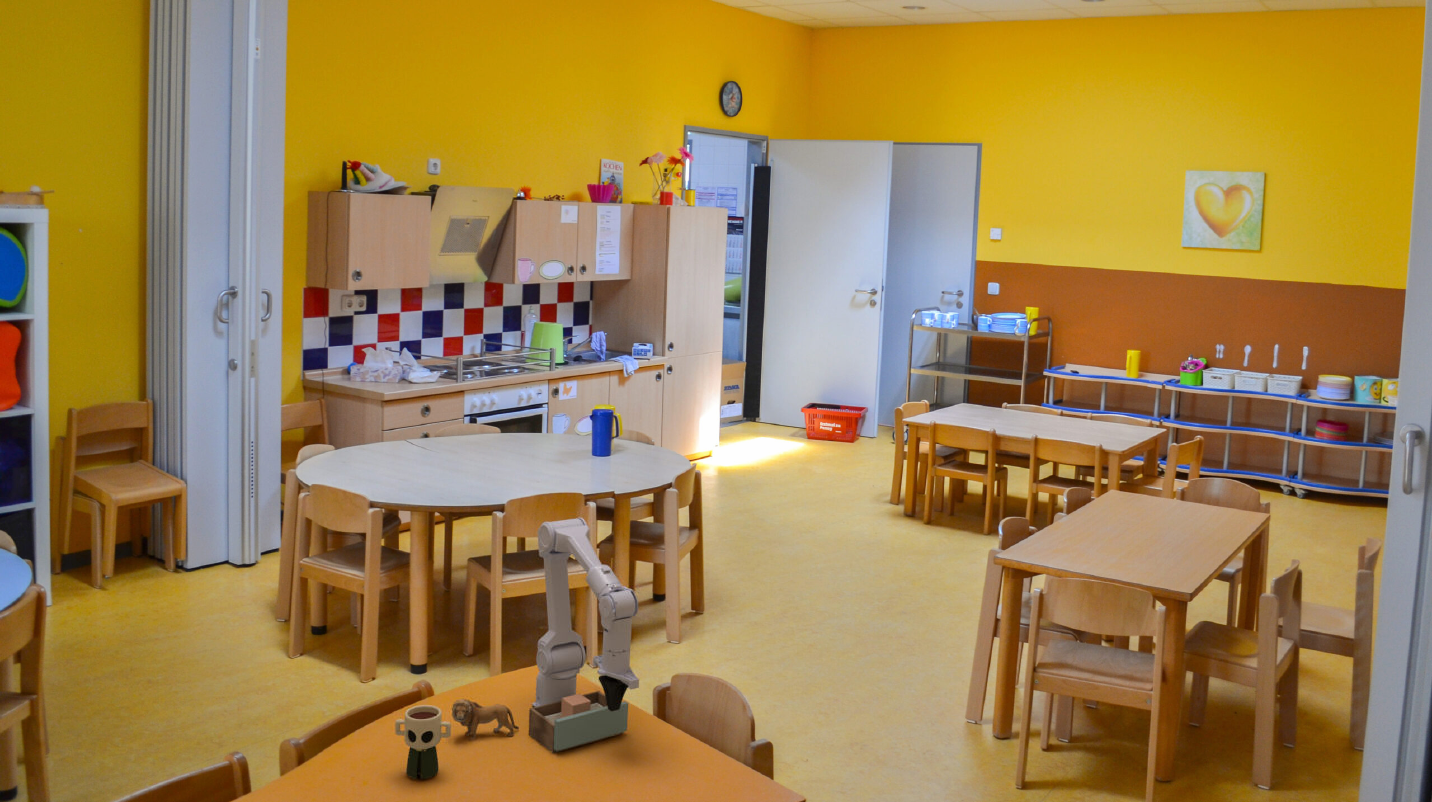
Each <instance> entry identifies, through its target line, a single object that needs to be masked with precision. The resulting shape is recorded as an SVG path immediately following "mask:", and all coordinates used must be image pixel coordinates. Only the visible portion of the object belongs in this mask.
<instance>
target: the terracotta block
mask: <svg viewBox="0 0 1432 802" xmlns="http://www.w3.org/2000/svg"><path fill="white" fill-rule="evenodd" d="M582 695H583V694H581V693H576V695H572V696H568V697H564V698H562V706H561V718H563V717H567V716H571V715H575V714H578V713H582V712H586V711H590V709H591V701H590V700H588V699H587V698H585V697H584V696H582Z"/></svg>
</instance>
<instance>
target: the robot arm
mask: <svg viewBox="0 0 1432 802" xmlns="http://www.w3.org/2000/svg"><path fill="white" fill-rule="evenodd" d="M590 532H591V531H590V527H589V525H588V523H587V522H586V520H585V519H584V518H583V517H580V516H579V517H577V518H570V519H563V520H556V521H555V520H554V521H544V522H542V524H541V525H540V526H539V528H538V530H537V544H538V555H539V557H541V558H542V559H543V567H544V568H543V569H544V580H545V581H544V582H545V594H546V596H545V598H546V609H547V625H548V627H547V628H548V631H547V632H546V633H545V634H544V635H543V636H541V637H540V639H539V640H538V641H537V653H536V659H535V661H536V666H537V668H538V671H539V672H538V673H537V676H536V679H535V680H536V681H535V686H536V687H535V702H532V706H533V707H537V706H541V705H545V704H549V703H553V702H557V701H561V700H562V698H564V697H568V696H572V695H576V694H577V674H580V673H581V669H582V668H584V666H585V663H586V659H587V656H586V650H585V646H584V644H583V638H582V636H581V635H580V633H577V632H576V631H574V630H573V629H572V627H573V626H572V617H571V614H572V613H571V601H570V600H571V599H570V585H569V572H568V560H569V558H570V557H571V556H572V557H574V559H575V560H576V561H577V563H579V565H580V566H581V568H582V569H583V570H584V572H586V574H587V575H586V578H585V579H586V580H585V581H586V584H587V585H588V587H589V588H590V590H591V591H592V593H593V595H595V597H596V599H597V601H598V602H599V603H598V611H599V614H600V619H601V620H600V624H601V626H602V628H603V633H602V634H603V636H602V637H603V638H602V654H601V655H597V656H593V657H592V666H593V667H595V668H597V667H598V668H599V669H597V671H596V672H597V674H599V676H598V682H599V683H600V686H601V687H602V690H603V694H605V697H606V702H607V707H608V709H609V710H610V711H616V710H619V709H620V706H621V703H622V702H623V699H624V696H625V694H626V691H627V690H628V689H629V690H635V689H639V688H640V678H638V677H637V675H635V672H634V671H633V669H632V668H631V666H630V663H631V661H630V660H631V659H630V658H631V644H632V643H631V642H632V641H631V640H632V625H633V624H632V621H633V620H632V619H633V618H632V617H636V616H637V614H638V611H639V603H638V602H639V601H638V597H637V595H636V593H635V591H634V589H632V588H628V587H627V586H626V585H625V586H623V585H622V583H621V582H620V580H619V579H618V577H617V576H616V574H615V573H614V571H613V570H612V568H611V567H610V566H609V565H608V564H602V563H601V561H600V559H599V557H598V555H597V552H596V551H595V549H594V548H593V545H592V543H591V542H590V539H591V537H590V535H591V534H590Z"/></svg>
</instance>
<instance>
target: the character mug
mask: <svg viewBox="0 0 1432 802" xmlns="http://www.w3.org/2000/svg"><path fill="white" fill-rule="evenodd" d="M442 712H443V711H442V709H441V708H440V707H438V706H435V705H430V704H421V705H420V704H419V705H415V706H412V707H410V708H408V709H407V710H405V714H404V719H401V718H400V719H396V720H395V726H394V728H395V729H394V731H395V732H394V734H395V735H397V736H403V737H404V742H405V745H406V746H407V747H409V750H408V755H407V756H408V757H407V762H406V776H408V777H409V778H412V779H417V775H420V779H421V780H424V779H429V778H432V777H434V776H436V775H437V774H438V773H439V759H438V750H437V747H436V746H438V744H439V743H441V740H442V739H443V738H447V739H448V738H450V737H451V735H452V731H451V730H452V724H451V722H449V721H442ZM401 725H404V730H401ZM442 727H445V732H442Z"/></svg>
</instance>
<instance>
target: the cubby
mask: <svg viewBox="0 0 1432 802" xmlns="http://www.w3.org/2000/svg"><path fill="white" fill-rule="evenodd" d="M581 695H582V696H584V697H585V698H587V699H588V700H590V701H591V704H595V703H598V704H600V705H601V706H603V707H605V706H607V702H606V697H605V693H604V692H602V691H600V690H597V691H593V692H589V693H585V694H581ZM561 706H562V700H561V701H557V702H553V703H549V704H545V705H541V706H537V707H534V706H533V707H529V710H528V711H529V714H528V715H529V716H528V735H529V736H530V737H531V738H532V739H534V741H536V742H537V743H538V744H540V745H541V746H543V748H545V749H547V750H548V751H549V752H550V753H552V754H555V753H558V752H559V753H560V752H561V751H566V750H569V749H571V748H572V749H573V748H576V747H580V746H583V745H587V744H589V743H593V742H597V741H600V740H605V739H608V738H611V737H614V736H618V735H621V734H623V733H624V732H622V733H618V734H615V735H611V736H608V737H604V738H601V739H597V740H594V741H590V742H587V743H583V744H580V745H576V746H573V747H569V748H566V749H562V750H559V751H556V750H555V749H554V723H552V722H551V721H549V720H548V719H547V718H545V716H549V715H553V714H557V713H560V712H561Z"/></svg>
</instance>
